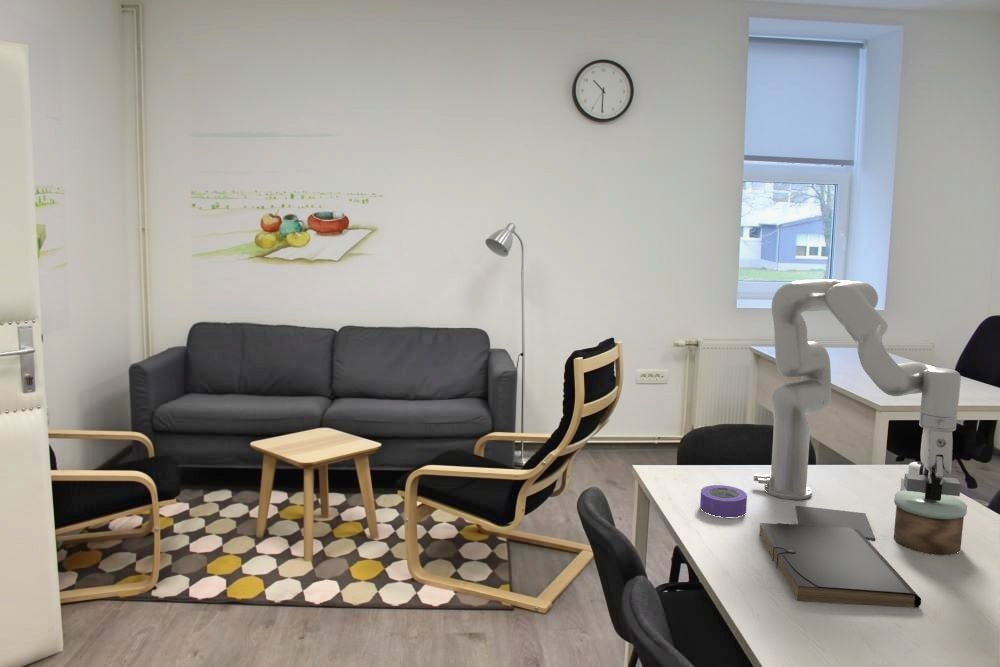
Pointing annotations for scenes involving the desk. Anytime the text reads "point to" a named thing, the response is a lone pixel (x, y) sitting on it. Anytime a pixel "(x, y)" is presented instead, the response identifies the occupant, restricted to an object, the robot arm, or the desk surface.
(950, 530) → the canister
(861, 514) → the mat
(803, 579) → the file folder
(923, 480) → the cover
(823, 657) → the desk surface
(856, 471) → the desk surface
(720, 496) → the tape roll
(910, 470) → the medicine bottle
